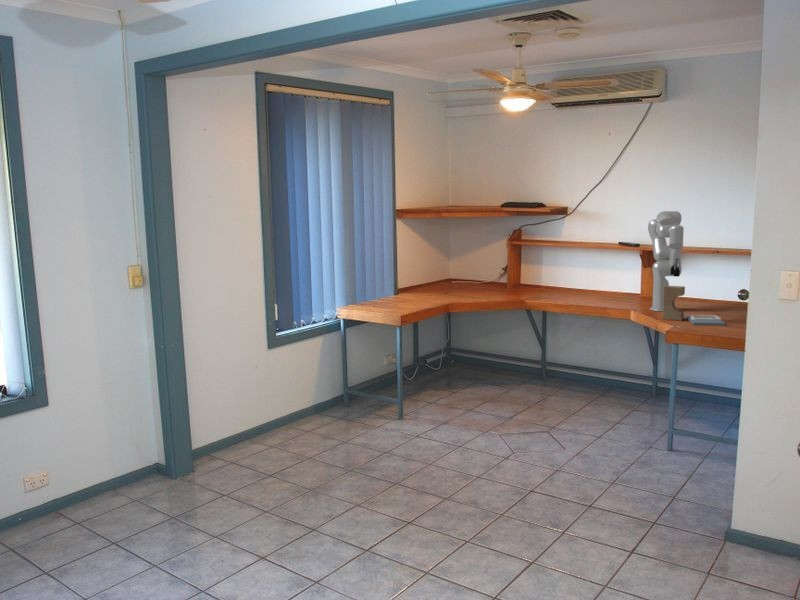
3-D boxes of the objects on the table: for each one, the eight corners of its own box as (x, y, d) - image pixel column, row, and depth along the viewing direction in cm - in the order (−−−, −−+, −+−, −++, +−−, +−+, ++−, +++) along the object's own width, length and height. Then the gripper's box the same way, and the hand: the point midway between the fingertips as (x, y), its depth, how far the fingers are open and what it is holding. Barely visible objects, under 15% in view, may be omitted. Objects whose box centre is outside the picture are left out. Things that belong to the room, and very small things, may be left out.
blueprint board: (684, 317, 414) (684, 313, 414) (714, 317, 411) (714, 313, 411) (693, 324, 391) (693, 320, 391) (725, 325, 388) (725, 321, 387)
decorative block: (683, 319, 409) (685, 286, 406) (681, 320, 404) (683, 287, 401) (664, 317, 415) (665, 285, 412) (662, 319, 410) (663, 286, 407)
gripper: (666, 245, 412) (665, 273, 414) (672, 247, 395) (670, 277, 397) (679, 245, 410) (678, 273, 413) (685, 247, 393) (684, 277, 396)
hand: (674, 275), depth 405 cm, fingers open, 9 cm apart
